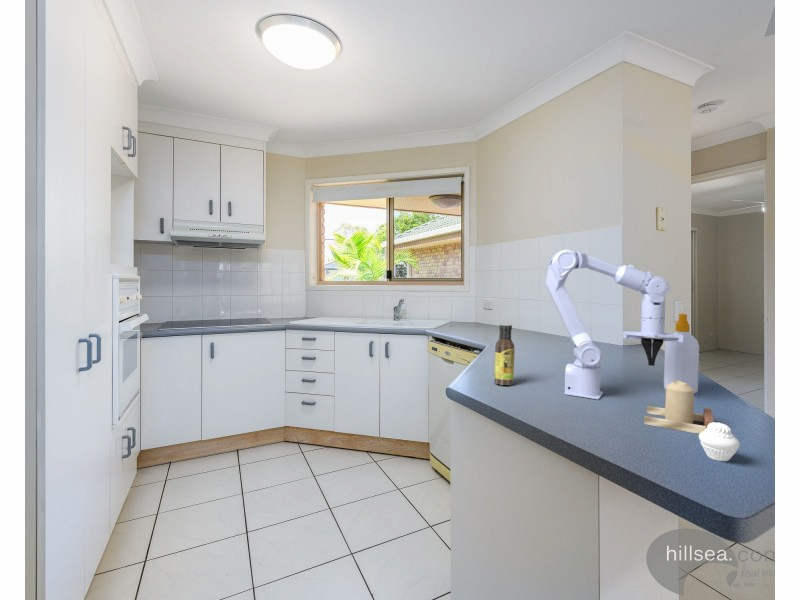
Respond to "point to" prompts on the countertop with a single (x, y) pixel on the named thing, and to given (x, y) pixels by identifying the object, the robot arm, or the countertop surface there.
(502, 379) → the sauce bottle
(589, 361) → the robot arm
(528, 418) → the countertop surface
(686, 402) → the candle
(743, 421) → the countertop surface
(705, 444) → the muffin
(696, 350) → the soap bottle
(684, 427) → the channel
